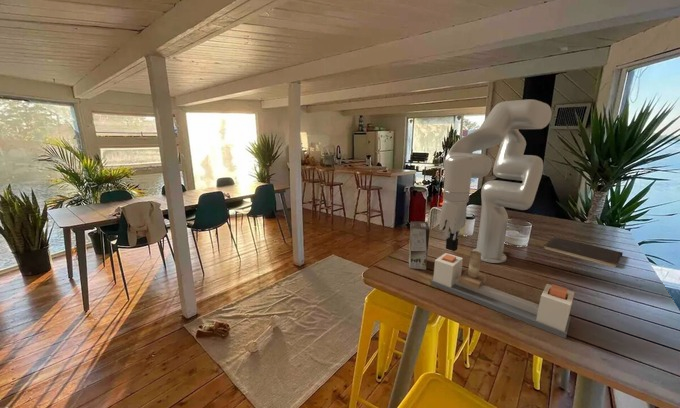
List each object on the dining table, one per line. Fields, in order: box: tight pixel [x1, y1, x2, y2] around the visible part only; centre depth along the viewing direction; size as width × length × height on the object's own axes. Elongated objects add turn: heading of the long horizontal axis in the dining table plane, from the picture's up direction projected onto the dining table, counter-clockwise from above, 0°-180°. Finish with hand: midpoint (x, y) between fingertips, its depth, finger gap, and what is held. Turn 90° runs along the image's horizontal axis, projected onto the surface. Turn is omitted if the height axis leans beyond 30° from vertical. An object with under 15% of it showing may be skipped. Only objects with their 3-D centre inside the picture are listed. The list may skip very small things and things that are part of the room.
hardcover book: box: [543, 236, 624, 268], centre depth 117 cm, size 16×23×2 cm
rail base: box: [430, 252, 575, 339], centre depth 83 cm, size 9×36×9 cm, turn 45°
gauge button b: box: [549, 283, 569, 300], centre depth 72 cm, size 3×3×4 cm
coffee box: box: [408, 221, 431, 270], centre depth 106 cm, size 9×6×16 cm
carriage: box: [458, 250, 487, 290], centre depth 86 cm, size 7×6×10 cm
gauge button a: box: [442, 254, 456, 263], centre depth 92 cm, size 3×3×4 cm
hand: (451, 249), depth 91 cm, fingers closed
